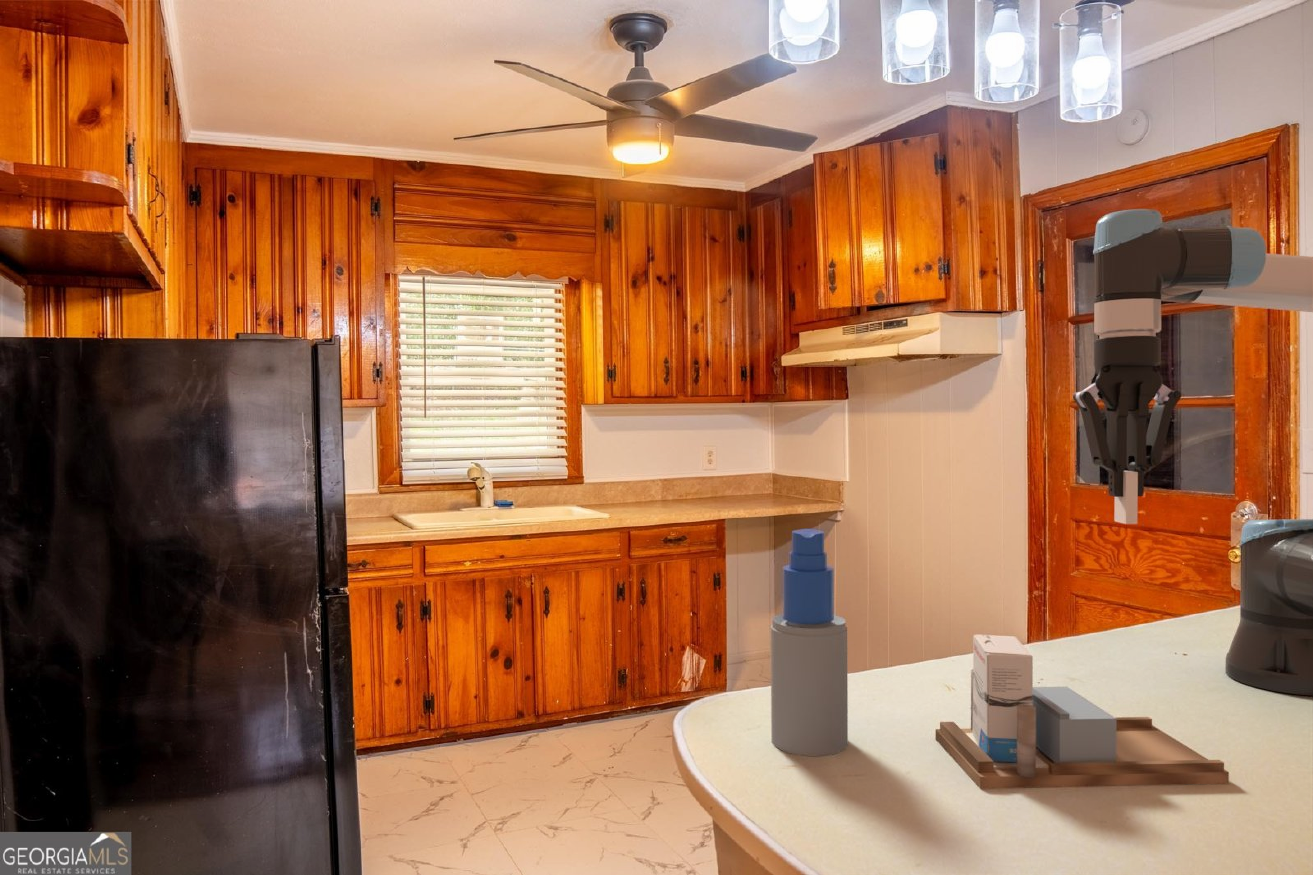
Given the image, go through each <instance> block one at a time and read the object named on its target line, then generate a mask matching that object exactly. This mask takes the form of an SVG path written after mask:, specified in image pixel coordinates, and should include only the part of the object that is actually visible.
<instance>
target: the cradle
mask: <svg viewBox="0 0 1313 875" xmlns="http://www.w3.org/2000/svg"><path fill="white" fill-rule="evenodd" d="M1115 718H1116V762H1073V763H1055V762H1054V761H1052V760H1051V759H1050V758H1049V757H1048V756H1046V755H1045V754H1044V753H1043V752H1042V751H1041V750H1039V749H1038V748H1037V747H1036V708H1035V707H1034V706H1031V705H1025V704H1022V705H1018V706H1017V762H997V761H993V760H992V759H991V758H990V757H989V756H988V755H987V754H986V753H985V752H984V751H983V750H982V749H981V748H980V747H979V745H978V743H977V741H976V740H975V738H974V736H973V668H972V669H971V670H970V728H961V727H960V726H958V725H957V723H956V722H954V721H940V722H939V728H936V729H935V740H936V742H937V743H938V744H940V746H941V747H942V748H943V749H944V750H945V751H946V753H948V755H949V756H950V757H951V758H952V759H953V760H954V762H955V763H956V764H957V765H958V766H960V768H961V769H962V770H963V771H964V772H965V773H966V775H968V777H969V778H970V779H971V780H972V781H973V782H974V783H975V785H977V787H978V788H979V789H1016V788H1017V789H1018V788H1019V789H1021V788H1026V789H1027V788H1061V787H1062V788H1065V787H1067V788H1069V787H1070V788H1071V787H1073V788H1075V787H1078V788H1079V787H1111V786H1112V787H1117V786H1120V787H1121V786H1125V787H1126V786H1170V785H1172V786H1173V785H1175V786H1176V785H1217V784H1218V785H1219V784H1221V785H1222V784H1224V785H1225V784H1226V785H1227V784H1230V783H1229V782H1230V780H1229V778H1230V777H1229V776H1230V774H1229V773H1230V772H1229V771H1228V770H1227V769H1225V762H1224V761H1222V760H1221V759H1208V758H1206V757H1205V756H1204V755H1202V754H1201V753H1199V752H1197V751H1195V750H1193V749H1192V748H1190V747H1189V746H1187V745H1186V744H1184V743H1183V742H1180V741H1179V740H1177V739H1176V738H1174V737H1173V736H1170V735H1169V734H1167V733H1166V732H1164V731H1163V730H1161V729H1160V728H1158V727H1156V726H1154V725H1153V719H1152V718H1151V717H1149V716H1126V717H1125V716H1123V717H1120V716H1119V717H1115Z"/></svg>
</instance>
